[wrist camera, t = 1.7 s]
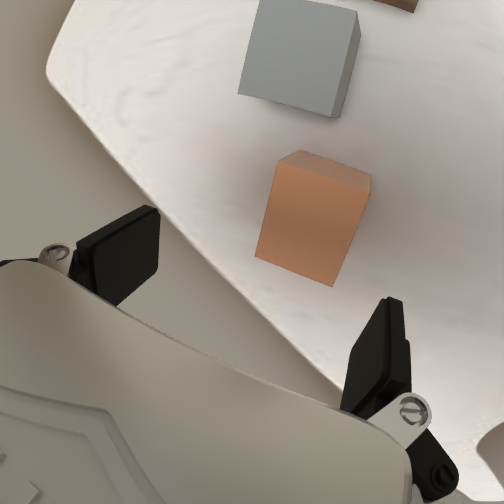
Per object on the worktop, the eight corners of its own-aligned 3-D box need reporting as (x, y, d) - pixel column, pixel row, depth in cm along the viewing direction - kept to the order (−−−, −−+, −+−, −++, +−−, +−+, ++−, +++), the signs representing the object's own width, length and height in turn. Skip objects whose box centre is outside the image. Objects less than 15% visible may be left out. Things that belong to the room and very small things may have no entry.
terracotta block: (370, 174, 18) (370, 193, 14) (342, 251, 21) (332, 287, 17) (299, 149, 19) (278, 160, 15) (278, 226, 22) (254, 256, 18)
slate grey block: (361, 35, 14) (356, 11, 10) (339, 117, 17) (330, 117, 13) (287, 19, 15) (261, -5, 11) (268, 97, 18) (237, 93, 14)
